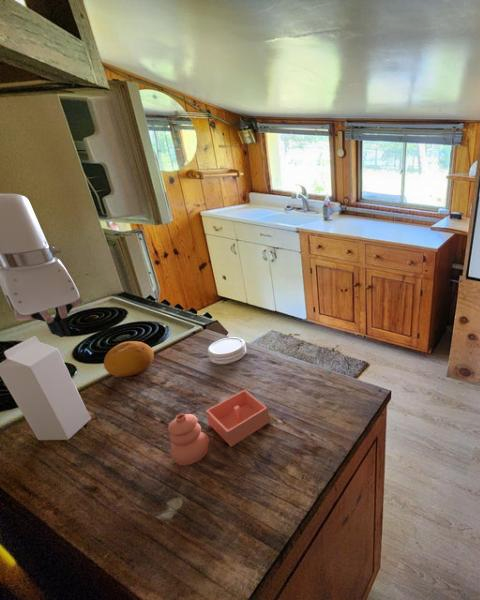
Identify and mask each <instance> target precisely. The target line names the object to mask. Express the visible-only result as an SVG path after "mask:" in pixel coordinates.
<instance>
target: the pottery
mask: <svg viewBox="0 0 480 600" xmlns="http://www.w3.org/2000/svg"><path fill="white" fill-rule="evenodd" d="M268 409H269V408H268V407H267V406H266V405H265V404H264V403H263V402H261V401H260V400H259V399H257V397H255V396H254V395H253V394H251V393H250V392H249V391H248V390H247V389H242V391H239V392H238V393H236V394H234V395H232V396H230V397H228V398H226V399H225V400H223V401H221V402H218V403H217V404H215V405H213V406H211V407H210V408H207V409H206V410H205V412H206V413H205V414H206V416H207V420H208V424H209V425H210V428H212V429H213V430H214V431H215V432H216V433H217V434H218V435H219V436H220V437H221V438H222V439H223V440H224V441H225V442H226V444H227V445H228V446H229V447H234V446H235V445H237V444H238V443H240V442H241V441H243V440H244V439H246V438H247V437H249V436H250V435H252V434H253V433H255V432H256V431H258V430H260V429H261V428H262V427H264V426H266V425H267V424H269V423H270V422H271V420H270V414H269V410H268ZM198 420H199V419H198V417H196V415H194V414H191V413H188V414H187V413H184V412H183V413H178V414H177V415H176V416H175V418H174V419H172V421H170V422H169V424H168V427H167V431H168V433H169V440H170V443H171V447H170V457H171V458H172V460H173V461H174V462H175V463H176V464H177V465H180V466H189V465H192V464H195V463H197V462H199V461H201V459H203V458H204V457H205V456H206V454H207V453H208V451H209V446H210V440H209V436H208V435H207V434H206V433H205V432H203V431H202V426H201V425H200V424H199V421H198Z"/></svg>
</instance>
